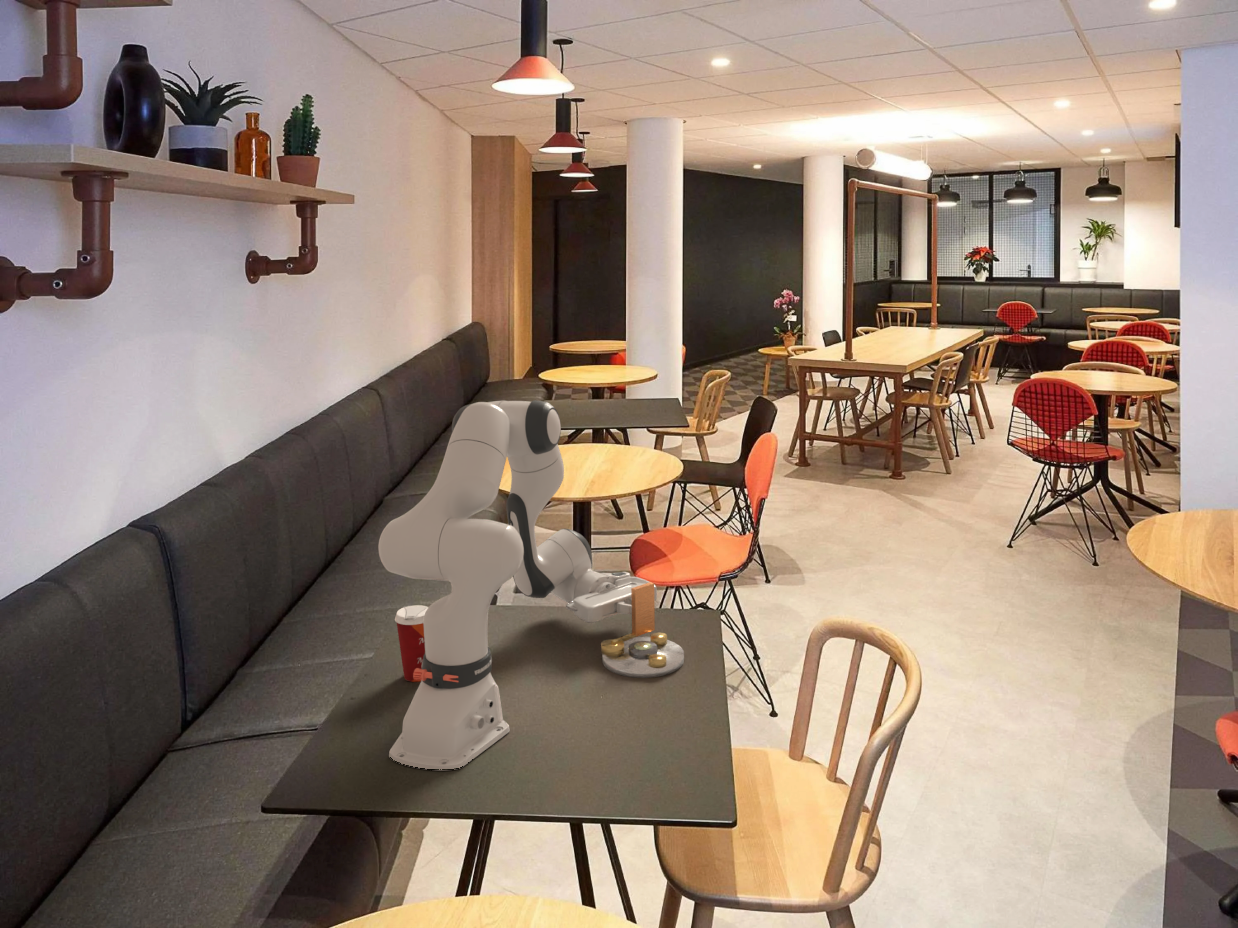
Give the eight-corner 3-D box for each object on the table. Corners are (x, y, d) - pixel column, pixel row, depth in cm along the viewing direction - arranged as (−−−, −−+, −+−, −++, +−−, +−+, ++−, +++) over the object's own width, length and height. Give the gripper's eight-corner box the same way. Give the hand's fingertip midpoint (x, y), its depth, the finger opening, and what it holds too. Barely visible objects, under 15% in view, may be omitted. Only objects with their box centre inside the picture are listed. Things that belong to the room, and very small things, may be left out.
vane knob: (611, 658, 196) (610, 602, 193) (596, 651, 200) (595, 596, 197) (660, 639, 205) (660, 585, 202) (645, 632, 209) (644, 579, 206)
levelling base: (671, 682, 189) (671, 667, 188) (590, 671, 194) (590, 657, 194) (692, 648, 205) (692, 634, 204) (617, 639, 210) (617, 625, 209)
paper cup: (433, 684, 190) (428, 618, 187) (394, 684, 190) (389, 618, 187) (441, 667, 198) (437, 603, 194) (404, 667, 198) (399, 603, 195)
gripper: (561, 591, 206) (603, 608, 196) (631, 569, 220) (673, 584, 210) (562, 619, 208) (603, 637, 198) (631, 595, 221) (673, 611, 211)
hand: (640, 610), depth 204 cm, fingers closed, pressing on vane knob
